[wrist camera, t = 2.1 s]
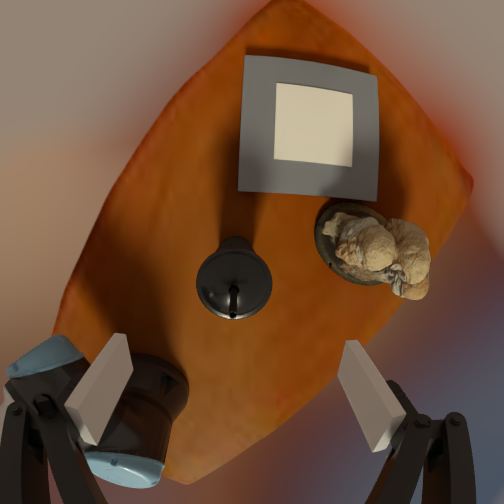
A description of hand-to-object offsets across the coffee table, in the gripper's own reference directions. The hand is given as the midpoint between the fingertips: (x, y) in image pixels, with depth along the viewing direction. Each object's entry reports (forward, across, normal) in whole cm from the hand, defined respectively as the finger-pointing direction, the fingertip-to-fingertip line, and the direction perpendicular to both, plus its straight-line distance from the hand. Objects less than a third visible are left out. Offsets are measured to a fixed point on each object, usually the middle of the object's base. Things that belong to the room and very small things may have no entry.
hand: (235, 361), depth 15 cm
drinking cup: (+26, 0, 0) cm, 27 cm away
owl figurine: (+27, -19, -2) cm, 33 cm away
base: (+26, -10, -19) cm, 34 cm away
